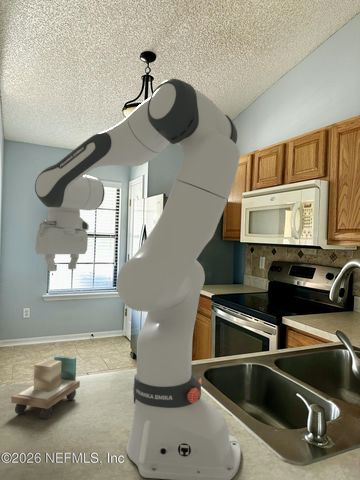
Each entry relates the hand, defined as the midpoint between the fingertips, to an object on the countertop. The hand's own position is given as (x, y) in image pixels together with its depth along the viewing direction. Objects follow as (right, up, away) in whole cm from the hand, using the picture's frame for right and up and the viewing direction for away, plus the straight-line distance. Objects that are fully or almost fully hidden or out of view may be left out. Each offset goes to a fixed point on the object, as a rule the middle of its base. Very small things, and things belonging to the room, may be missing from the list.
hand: (62, 270), depth 98 cm
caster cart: (+1, -33, -14) cm, 36 cm away
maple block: (+1, -28, -14) cm, 31 cm away
